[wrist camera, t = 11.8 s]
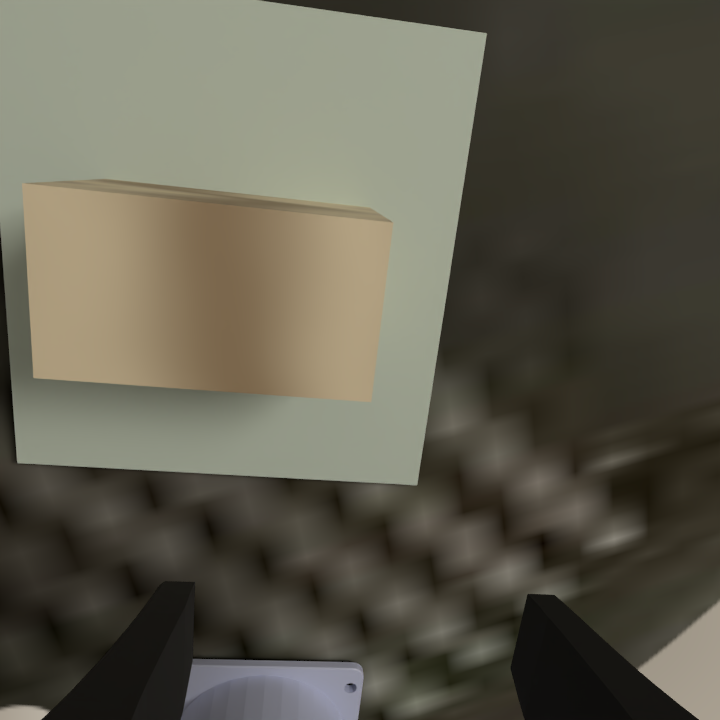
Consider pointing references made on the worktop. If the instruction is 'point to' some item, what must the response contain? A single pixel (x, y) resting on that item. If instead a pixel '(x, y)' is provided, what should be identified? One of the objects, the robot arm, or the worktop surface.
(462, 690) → the worktop surface
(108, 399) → the rubber mat
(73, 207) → the birch block
